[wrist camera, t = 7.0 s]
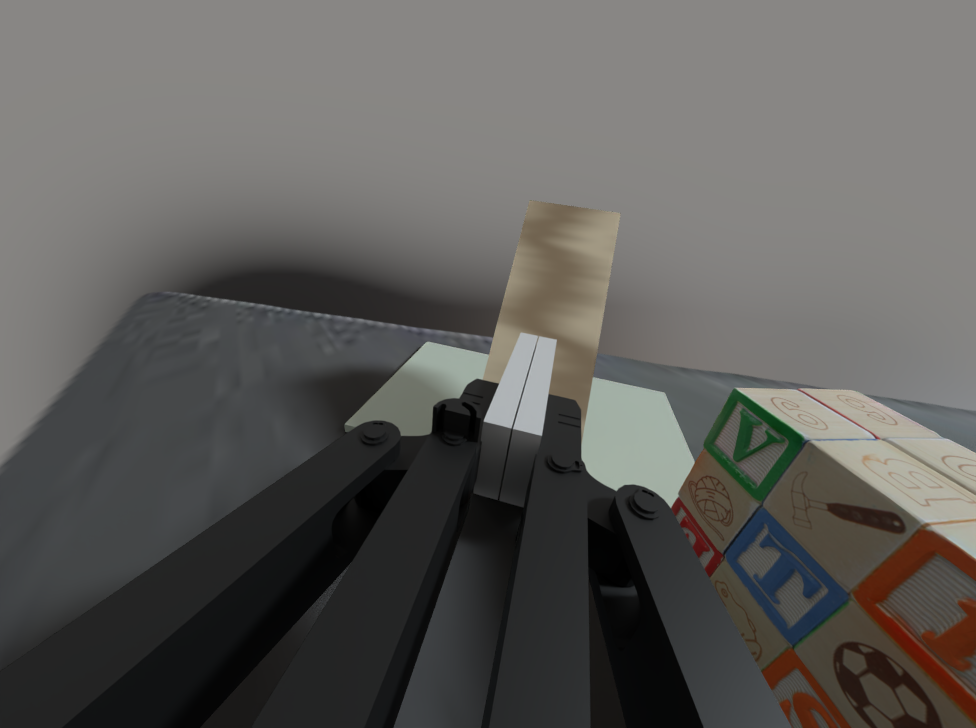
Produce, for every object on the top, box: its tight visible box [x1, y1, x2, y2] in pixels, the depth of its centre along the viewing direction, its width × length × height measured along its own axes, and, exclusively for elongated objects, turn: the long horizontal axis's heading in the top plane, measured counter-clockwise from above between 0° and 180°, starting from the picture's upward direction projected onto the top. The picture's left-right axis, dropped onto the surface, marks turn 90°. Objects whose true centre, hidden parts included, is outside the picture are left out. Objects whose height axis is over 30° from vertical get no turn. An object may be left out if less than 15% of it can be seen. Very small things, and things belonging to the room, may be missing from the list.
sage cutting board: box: [344, 342, 695, 508], centre depth 26 cm, size 22×14×1 cm, turn 77°
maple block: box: [483, 200, 620, 483], centre depth 19 cm, size 5×5×15 cm
